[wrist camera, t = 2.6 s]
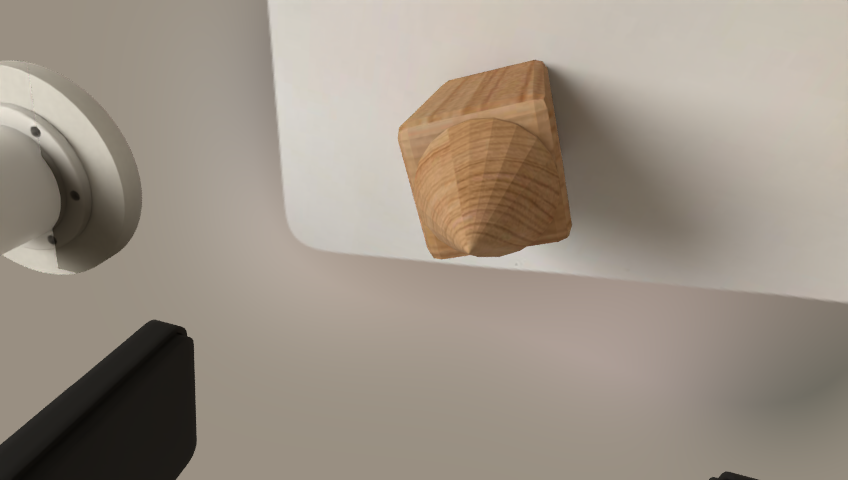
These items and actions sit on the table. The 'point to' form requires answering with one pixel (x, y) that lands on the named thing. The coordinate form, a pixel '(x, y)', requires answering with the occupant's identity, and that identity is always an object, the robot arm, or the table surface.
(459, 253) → the decorative item
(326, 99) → the table surface
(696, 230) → the table surface
